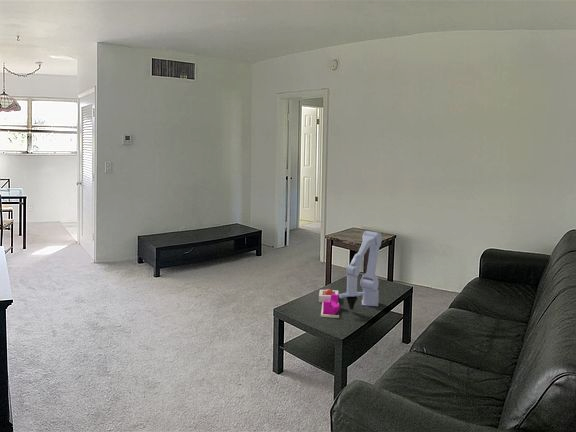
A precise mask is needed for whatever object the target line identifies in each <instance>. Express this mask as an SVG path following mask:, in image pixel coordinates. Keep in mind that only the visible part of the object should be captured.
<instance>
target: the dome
mask: <svg viewBox="0 0 576 432" xmlns="http://www.w3.org/2000/svg"><path fill="white" fill-rule="evenodd" d="M324 290H325V291H324V292H323V295H331V294H335V293H334V292H333V291H332V290H333V289H330V288H326V289H324Z"/></svg>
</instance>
